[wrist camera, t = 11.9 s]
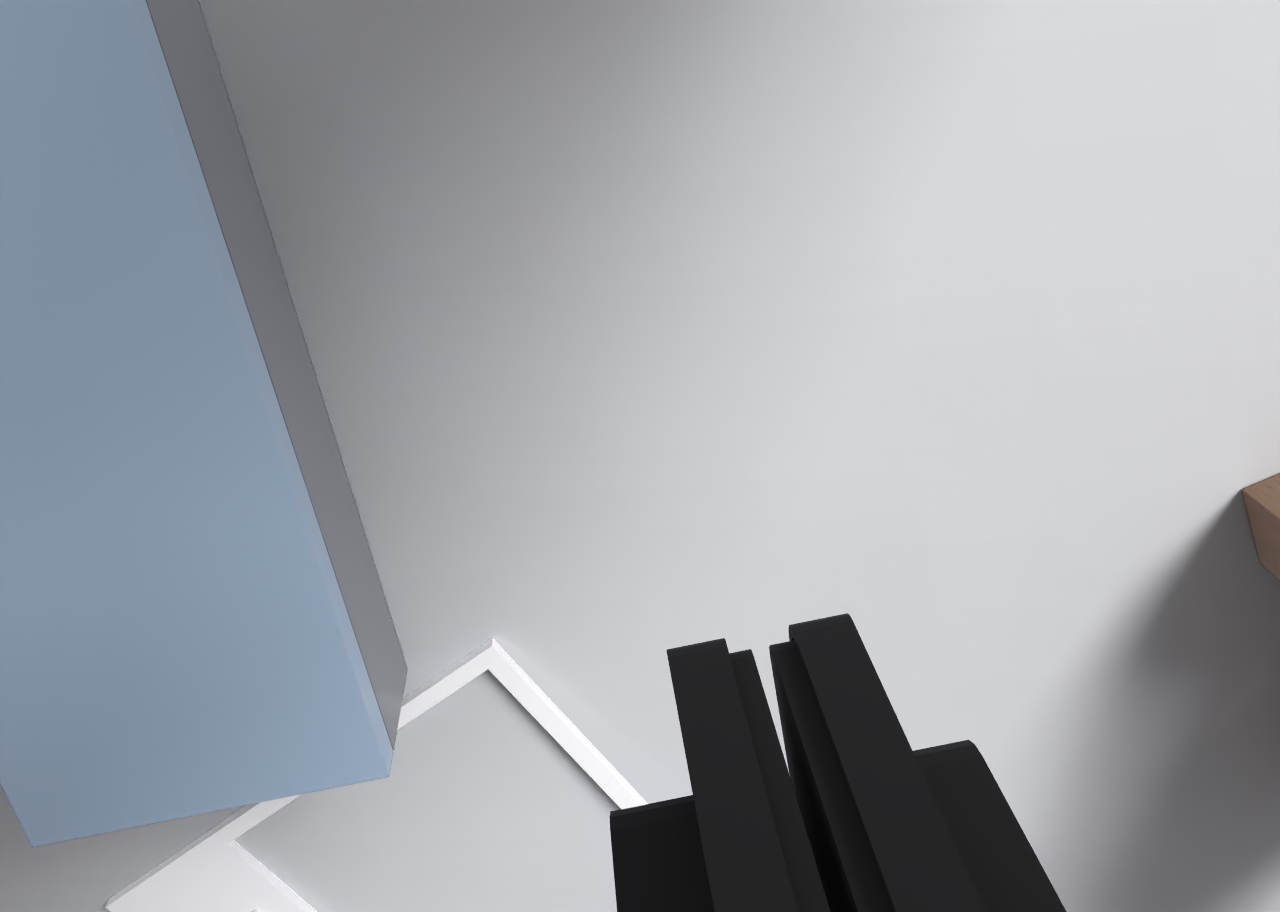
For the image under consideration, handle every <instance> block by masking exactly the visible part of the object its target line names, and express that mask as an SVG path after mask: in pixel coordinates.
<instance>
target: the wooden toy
mask: <svg viewBox="0 0 1280 912" xmlns="http://www.w3.org/2000/svg"><path fill="white" fill-rule="evenodd" d="M1242 492H1243V497H1244V501H1245V505H1246V510H1247V514H1248V518H1249V522H1250V526H1251V530H1252V534H1253V538H1254V542H1255V546H1256V549H1257V553H1258V557H1259V561H1260V563H1261V564H1262V565H1263V566H1264V567H1265V568H1267V569H1268V570H1269V571H1270V572H1271V573H1272V574H1273V575H1274V576H1276V577H1277V578H1278V579H1279V580H1280V474H1277V475H1275V476H1273V477H1270V478H1268V479H1265V480H1263V481H1261V482H1258V483H1256V484H1253V485H1251V486H1249V487H1246V488H1244V489H1242Z"/></svg>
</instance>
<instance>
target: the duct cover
mask: <svg viewBox="0 0 1280 912" xmlns="http://www.w3.org/2000/svg"><path fill="white" fill-rule="evenodd" d="M392 758H393V749H392V746H391V743H390V740H389V737H388V734H387V731H386V728H385V725H384V722H383V719H382V716H381V713H380V710H379V707H378V704H377V701H376V698H375V695H374V692H373V689H372V686H371V682H370V679H369V676H368V673H367V670H366V667H365V664H364V661H363V658H362V655H361V652H360V649H359V646H358V643H357V640H356V637H355V634H354V631H353V628H352V625H351V622H350V619H349V616H348V613H347V610H346V607H345V604H344V601H343V598H342V595H341V592H340V588H339V585H338V582H337V579H336V576H335V573H334V570H333V567H332V564H331V561H330V558H329V555H328V552H327V549H326V546H325V543H324V540H323V537H322V534H321V531H320V528H319V525H318V522H317V519H316V516H315V513H314V510H313V507H312V504H311V501H310V498H309V495H308V491H307V488H306V485H305V482H304V479H303V476H302V473H301V470H300V467H299V464H298V461H297V458H296V455H295V452H294V449H293V446H292V443H291V440H290V437H289V434H288V431H287V428H286V425H285V422H284V419H283V416H282V413H281V410H280V407H279V404H278V401H277V397H276V394H275V391H274V388H273V385H272V382H271V379H270V376H269V373H268V370H267V367H266V364H265V361H264V358H263V355H262V352H261V349H260V346H259V343H258V340H257V337H256V334H255V331H254V328H253V325H252V322H251V319H250V316H249V313H248V310H247V307H246V304H245V300H244V297H243V294H242V291H241V288H240V285H239V282H238V279H237V276H236V273H235V270H234V267H233V264H232V261H231V258H230V255H229V252H228V249H227V246H226V243H225V240H224V237H223V234H222V231H221V228H220V225H219V222H218V219H217V216H216V213H215V210H214V206H213V203H212V200H211V197H210V194H209V191H208V188H207V185H206V182H205V179H204V176H203V173H202V170H201V167H200V164H199V161H198V158H197V155H196V152H195V149H194V146H193V143H192V140H191V137H190V134H189V131H188V128H187V125H186V122H185V119H184V116H183V113H182V109H181V106H180V103H179V100H178V97H177V94H176V91H175V88H174V85H173V82H172V79H171V76H170V73H169V70H168V67H167V64H166V61H165V58H164V55H163V52H162V49H161V46H160V43H159V40H158V37H157V34H156V31H155V28H154V25H153V22H152V19H151V15H150V12H149V9H148V6H147V3H146V0H0V784H1V786H2V788H3V790H4V792H5V794H6V796H7V798H8V800H9V802H10V804H11V806H12V808H13V810H14V812H15V814H16V816H17V818H18V820H19V822H20V824H21V826H22V828H23V830H24V832H25V834H26V836H27V838H28V840H29V842H30V844H31V846H32V847H37V846H42V845H47V844H52V843H57V842H62V841H67V840H72V839H77V838H82V837H87V836H92V835H98V834H103V833H108V832H113V831H118V830H123V829H128V828H133V827H138V826H143V825H148V824H153V823H158V822H163V821H168V820H174V819H179V818H184V817H189V816H194V815H199V814H204V813H209V812H214V811H219V810H224V809H229V808H234V807H239V806H244V805H250V804H255V803H260V802H265V801H270V800H275V799H280V798H285V797H290V796H295V795H300V794H305V793H310V792H315V791H321V790H326V789H331V788H336V787H341V786H346V785H351V784H356V783H361V782H366V781H371V780H376V779H381V778H386V777H389V775H390V769H391V763H392Z"/></svg>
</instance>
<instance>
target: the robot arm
mask: <svg viewBox="0 0 1280 912" xmlns="http://www.w3.org/2000/svg"><path fill="white" fill-rule="evenodd" d="M789 639H790V641H789V642H784V643H779V644H774V645H770V647H769V649H770V658H771V664H772V670H773V677H774V683H775V689H776V695H777V701H778V707H779V713H780V719H781V725H782V731H783V738H784V744H785V750H786V756H787V762H788V768H789V772H788V769H787V766H786V762H785V759H784V756H783V753H782V749H781V746H780V743H779V739H778V736H777V733H776V729H775V726H774V723H773V719H772V716H771V713H770V709H769V706H768V703H767V699H766V696H765V693H764V689H763V686H762V683H761V679H760V676H759V673H758V669H757V666H756V663H755V659H754V656H753V653H752V650H751V649H749V650H745V651H740V652H735V653H730V654H729V651H728V648H727V644H726V641H725V639H724V638H723V639H718V640H713V641H708V642H703V643H698V644H693V645H688V646H683V647H678V648H673V649H668V650H667V655H668V661H669V666H670V672H671V677H672V683H673V688H674V694H675V699H676V704H677V710H678V715H679V721H680V726H681V732H682V737H683V743H684V748H685V754H686V759H687V764H688V770H689V775H690V781H691V786H692V792H693V795H691V796H686V797H681V798H676V799H671V800H666V801H661V802H656V803H651V804H646V805H641V806H636V807H631V808H626V809H621V810H616V811H611V812H610V831H611V843H612V854H613V866H614V878H615V890H616V901H617V912H1066V910H1065V908H1064V906H1063V905H1062V903H1061V901H1060V899H1059V897H1058V895H1057V894H1056V892H1055V890H1054V888H1053V886H1052V884H1051V882H1050V881H1049V879H1048V877H1047V875H1046V873H1045V871H1044V869H1043V868H1042V866H1041V864H1040V862H1039V860H1038V858H1037V856H1036V855H1035V853H1034V851H1033V849H1032V847H1031V845H1030V843H1029V842H1028V840H1027V838H1026V836H1025V834H1024V832H1023V831H1022V829H1021V827H1020V825H1019V823H1018V821H1017V819H1016V818H1015V816H1014V814H1013V812H1012V810H1011V808H1010V806H1009V805H1008V803H1007V801H1006V799H1005V797H1004V795H1003V793H1002V792H1001V790H1000V788H999V786H998V784H997V782H996V780H995V779H994V777H993V775H992V773H991V771H990V769H989V768H988V766H987V764H986V762H985V760H984V758H983V756H982V755H981V753H980V752H979V750H978V749H977V747H976V746H975V744H974V743H972V742H971V741H969V740H965V741H960V742H955V743H950V744H945V745H940V746H935V747H930V748H925V749H921V750H916V751H912V749H911V747H910V745H909V742H908V740H907V738H906V736H905V734H904V731H903V729H902V727H901V725H900V723H899V721H898V718H897V716H896V714H895V712H894V710H893V707H892V705H891V703H890V701H889V699H888V697H887V694H886V692H885V690H884V688H883V686H882V683H881V681H880V679H879V677H878V675H877V673H876V670H875V668H874V666H873V664H872V662H871V659H870V657H869V655H868V653H867V651H866V649H865V646H864V644H863V642H862V640H861V638H860V635H859V633H858V631H857V629H856V627H855V625H854V622H853V620H852V619H851V617H850V615H849V614H842V615H837V616H832V617H827V618H822V619H817V620H812V621H807V622H802V623H797V624H792V625H789ZM789 774H790V776H789Z"/></svg>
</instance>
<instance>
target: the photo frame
mask: <svg viewBox="0 0 1280 912" xmlns="http://www.w3.org/2000/svg"><path fill="white" fill-rule="evenodd" d="M487 669H489V671H490V672H491V673H492V674H493V675H494V676H495V677H496V678H497V679H498V680H499V681H500V682H501V683H502V684H503V685H504V686H505V687H506V688H507V689H508V691H509V692H510V693H511V694H512V695H513V696H514V697H515V698H516V699H517V700H518V701H519V702H520V703H521V704H522V705H523V706H524V707H525V708H526V709H527V710H528V712H529V713H530V714H531V715H532V716H533V717H534V718H535V719H536V720H537V721H538V722H539V723H540V724H541V725H542V726H543V727H544V728H545V729H546V730H547V731H548V733H549V734H550V735H551V736H552V737H553V738H554V739H555V740H556V741H557V742H558V743H559V744H560V745H561V746H562V747H563V748H564V749H565V750H566V751H567V753H568V754H569V755H570V756H571V757H572V758H573V759H574V760H575V761H576V762H577V763H578V764H579V765H580V766H581V767H582V768H583V769H584V770H585V771H586V772H587V774H588V775H589V776H590V777H591V778H592V779H593V780H594V781H595V782H596V783H597V784H598V785H599V786H600V787H601V788H602V789H603V790H604V791H605V792H606V794H607V795H608V796H609V797H610V798H611V799H612V800H613V801H614V802H615V803H616V804H617V805H618V806H619V807H620V808H621V809H626V808H631V807H636V806H641V805H646V804H648V803H647V802H646V801H645V800H644V799H643V798H642V797H641V796H640V795H639V794H638V793H637V792H636V790H635V789H634V788H633V787H632V786H631V785H630V784H629V783H628V782H627V781H626V780H625V779H624V778H623V777H622V776H621V774H620V773H619V772H618V771H617V770H616V769H615V768H614V767H613V766H612V765H611V764H610V763H609V762H608V761H607V760H606V758H605V757H604V756H603V755H602V754H601V753H600V752H599V751H598V750H597V749H596V748H595V747H594V746H593V745H592V744H591V742H590V741H589V740H588V739H587V738H586V737H585V736H584V735H583V734H582V733H581V732H580V731H579V730H578V729H577V728H576V726H575V725H574V724H573V723H572V722H571V721H570V720H569V719H568V718H567V717H566V716H565V715H564V714H563V713H562V712H561V711H560V709H559V708H558V707H557V706H556V705H555V704H554V703H553V702H552V701H551V700H550V699H549V698H548V697H547V696H546V695H545V693H544V692H543V691H542V690H541V689H540V688H539V687H538V686H537V685H536V684H535V683H534V682H533V681H532V680H531V679H530V677H529V676H528V675H527V674H526V673H525V672H524V671H523V670H522V669H521V668H520V667H519V666H518V665H517V664H516V663H515V661H514V660H513V659H512V658H511V657H510V656H509V655H508V654H507V653H506V652H505V651H504V650H503V649H502V648H501V647H500V645H499V644H498V643H497V642H496V641H495V640H494V639H493V638H491V639H490V640H488V641H487V642H485V643H484V644H483V645H481V646H480V647H478V648H477V649H475V650H474V651H472V652H471V653H469V654H468V655H466V656H465V657H463V658H462V659H460V660H459V661H458V662H456V663H455V664H453V665H452V666H450V667H449V668H447V669H446V670H444V671H443V672H441V673H440V674H438V675H437V676H435V677H434V678H433V679H431V680H430V681H428V682H427V683H425V684H424V685H422V686H421V687H419V688H418V689H416V690H415V691H413V692H412V693H410V694H409V695H408V696H406V697H405V698H403V699H402V705H401V711H400V717H399V722H398V728H397V730H398V729H400V728H401V727H403V726H404V725H406V724H407V723H409V722H410V721H412V720H413V719H415V718H416V717H417V716H419V715H420V714H422V713H423V712H425V711H426V710H428V709H429V708H431V707H432V706H434V705H435V704H437V703H438V702H440V701H441V700H443V699H444V698H446V697H447V696H449V695H450V694H452V693H453V692H455V691H456V690H458V689H459V688H461V687H462V686H464V685H465V684H467V683H468V682H470V681H471V680H473V679H474V678H475V677H477V676H478V675H480V674H481V673H483V672H484V671H486V670H487ZM300 795H301V794H300ZM300 795H295V796H290V797H285V798H280V799H275V800H270V801H265V802H260V803H255V804H250V805H246V806H244V807H243V808H241V809H240V810H238V811H237V812H235V813H234V814H232V815H231V816H230V817H228V818H227V819H225V820H224V821H222V822H221V823H219V824H218V825H216V826H215V827H213V828H212V829H210V830H209V831H207V832H206V833H205V834H203V835H202V836H200V837H199V838H197V839H196V840H194V841H193V842H191V843H190V844H188V845H187V846H185V847H184V848H182V849H181V850H180V851H178V852H177V853H175V854H174V855H172V856H171V857H169V858H168V859H166V860H165V861H163V862H162V863H160V864H159V865H157V866H156V867H155V868H153V869H152V870H150V871H149V872H147V873H146V874H144V875H143V876H141V877H140V878H138V879H137V880H135V881H134V882H132V883H131V884H130V885H128V886H127V887H125V888H124V889H122V890H121V891H119V892H118V893H116V894H115V895H113V896H112V897H110V898H109V900H108V902H107V904H106V907H105V908H106V909H108V910H109V911H110V912H317V911H316V910H315V909H314V908H313V907H311V906H310V905H309V904H308V903H307V902H306V901H304V900H303V899H302V898H301V897H300V896H299V895H297V894H296V893H295V892H294V891H293V890H292V889H290V888H289V887H288V886H287V885H286V884H285V883H283V882H282V881H281V880H280V879H279V878H278V877H277V876H275V875H274V874H273V873H272V872H271V871H270V870H268V869H267V868H266V867H265V866H264V865H263V864H261V863H260V862H259V861H258V860H257V859H256V858H254V857H253V856H252V855H251V854H250V853H249V852H247V851H246V850H245V849H244V848H243V847H242V846H241V845H239V844H238V843H237V842H236V841H235V839H236V838H237V837H239V836H240V835H242V834H243V833H245V832H246V831H248V830H249V829H251V828H252V827H254V826H255V825H257V824H258V823H260V822H261V821H263V820H264V819H266V818H267V817H269V816H270V815H272V814H273V813H275V812H276V811H278V810H279V809H281V808H282V807H284V806H285V805H287V804H288V803H290V802H291V801H293V800H294V799H296V798H297V797H298V796H300Z"/></svg>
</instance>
